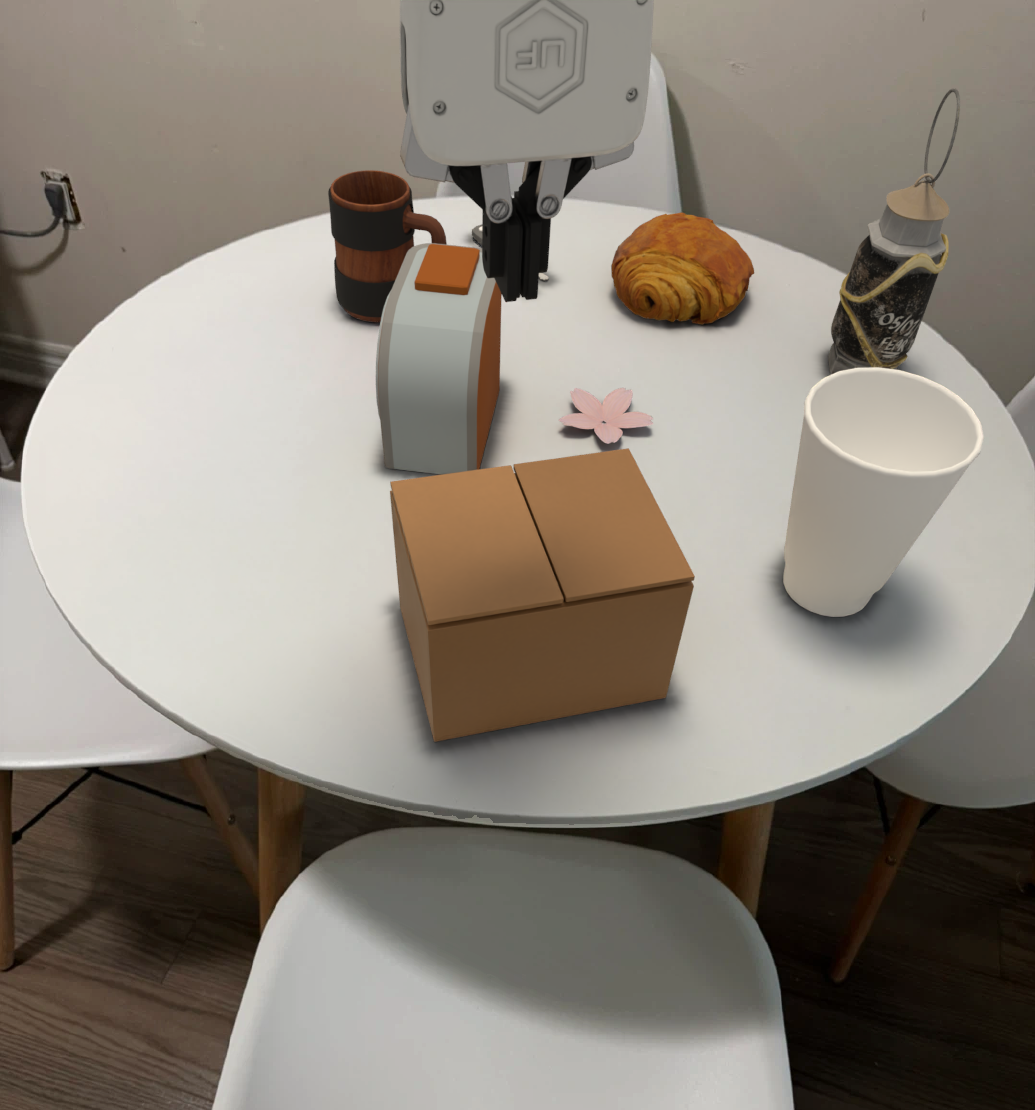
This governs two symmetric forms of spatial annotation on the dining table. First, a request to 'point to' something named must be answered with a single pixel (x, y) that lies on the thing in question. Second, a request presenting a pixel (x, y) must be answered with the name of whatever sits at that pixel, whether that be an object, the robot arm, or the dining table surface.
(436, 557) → the flap
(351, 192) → the mug
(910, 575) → the dining table surface
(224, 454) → the dining table surface
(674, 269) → the croissant
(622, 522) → the carton
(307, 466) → the dining table surface
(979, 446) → the cup
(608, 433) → the flower
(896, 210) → the black bottle with loop
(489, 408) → the alarm clock
